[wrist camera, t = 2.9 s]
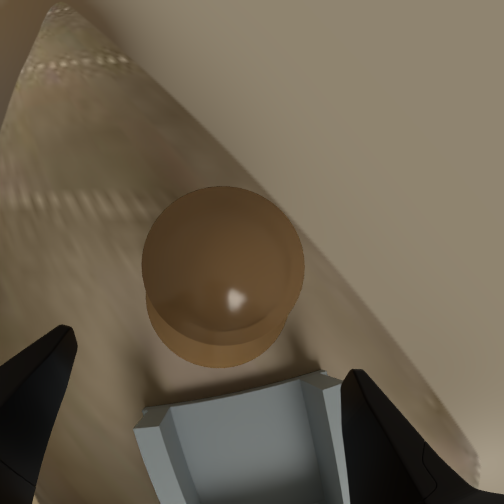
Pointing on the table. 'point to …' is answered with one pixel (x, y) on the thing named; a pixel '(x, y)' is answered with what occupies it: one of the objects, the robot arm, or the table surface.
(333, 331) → the table surface
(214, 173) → the table surface
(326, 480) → the u rest
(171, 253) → the amber bottle
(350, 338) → the table surface
